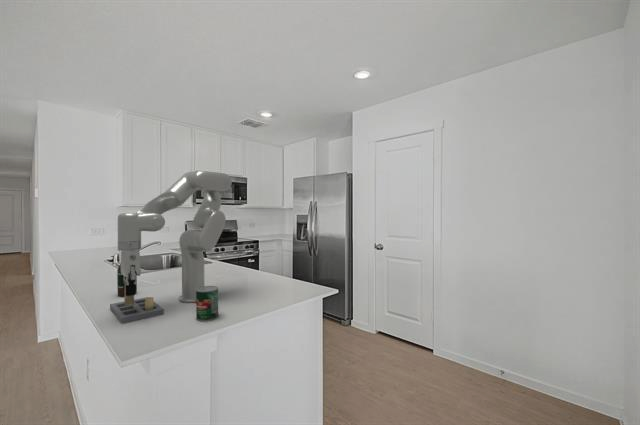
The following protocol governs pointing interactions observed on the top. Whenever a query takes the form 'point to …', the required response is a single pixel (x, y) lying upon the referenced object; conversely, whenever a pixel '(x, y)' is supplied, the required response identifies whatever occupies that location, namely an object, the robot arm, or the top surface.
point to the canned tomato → (207, 303)
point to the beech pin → (128, 297)
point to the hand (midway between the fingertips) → (129, 293)
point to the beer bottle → (121, 282)
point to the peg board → (136, 310)
